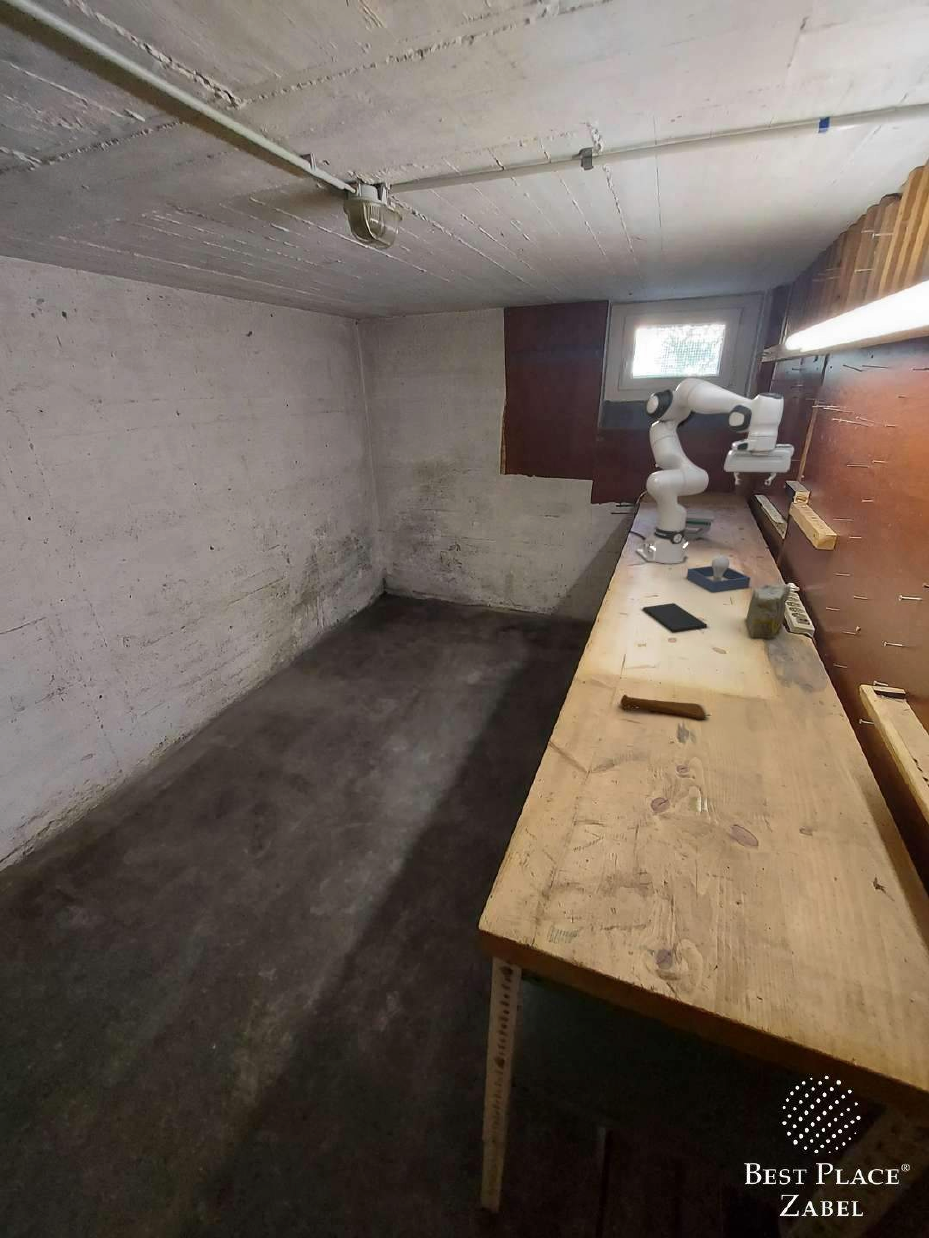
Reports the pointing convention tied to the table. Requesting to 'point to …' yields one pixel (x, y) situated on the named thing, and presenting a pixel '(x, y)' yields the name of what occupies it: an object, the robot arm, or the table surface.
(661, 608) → the mat
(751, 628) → the stone block
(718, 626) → the table surface
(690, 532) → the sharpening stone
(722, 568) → the lightbulb
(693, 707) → the primitive tool
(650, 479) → the robot arm
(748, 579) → the blue square tray
